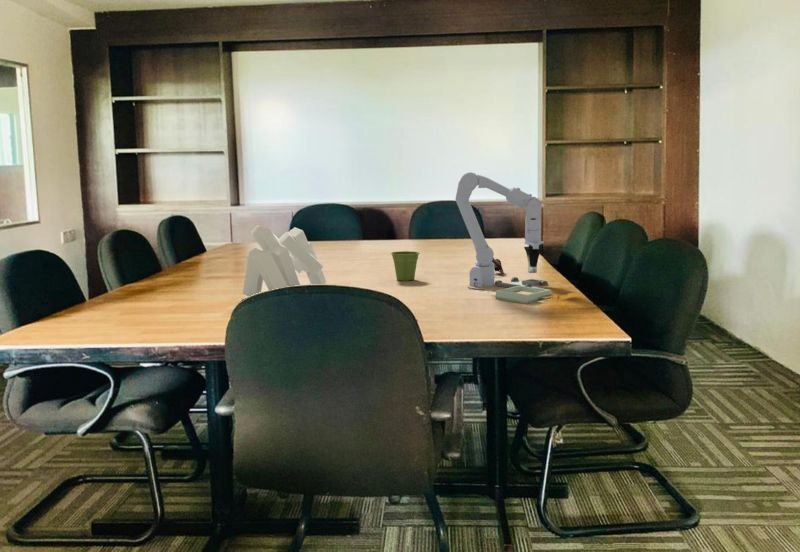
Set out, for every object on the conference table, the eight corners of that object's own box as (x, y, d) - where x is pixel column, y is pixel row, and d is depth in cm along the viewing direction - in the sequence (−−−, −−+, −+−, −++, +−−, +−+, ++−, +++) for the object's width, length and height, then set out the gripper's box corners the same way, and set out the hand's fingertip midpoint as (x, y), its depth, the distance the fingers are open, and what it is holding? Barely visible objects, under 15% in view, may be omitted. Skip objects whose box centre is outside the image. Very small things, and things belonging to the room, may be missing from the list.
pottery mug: (501, 277, 310) (491, 261, 309) (483, 286, 316) (473, 269, 315) (510, 266, 320) (501, 250, 319) (493, 275, 325) (483, 259, 324)
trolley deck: (524, 293, 269) (524, 285, 268) (491, 289, 280) (491, 281, 279) (548, 288, 279) (548, 280, 279) (516, 284, 290) (516, 276, 289)
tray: (527, 303, 250) (527, 295, 250) (495, 299, 260) (495, 290, 259) (550, 298, 259) (551, 289, 259) (519, 293, 269) (519, 285, 269)
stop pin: (533, 273, 276) (533, 254, 275) (526, 272, 279) (526, 254, 278) (538, 272, 279) (539, 253, 278) (531, 271, 281) (531, 253, 280)
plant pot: (424, 280, 303) (424, 253, 301) (397, 282, 298) (397, 255, 297) (413, 276, 314) (413, 250, 312) (387, 278, 309) (386, 251, 308)
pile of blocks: (280, 299, 297) (235, 224, 285) (345, 271, 288) (301, 193, 277) (255, 342, 265) (203, 260, 254) (328, 313, 257) (277, 227, 245)
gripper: (547, 231, 269) (546, 268, 271) (540, 228, 283) (540, 263, 285) (527, 231, 269) (527, 268, 271) (522, 228, 284) (521, 263, 286)
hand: (532, 266), depth 278 cm, fingers closed on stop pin, 3 cm apart
